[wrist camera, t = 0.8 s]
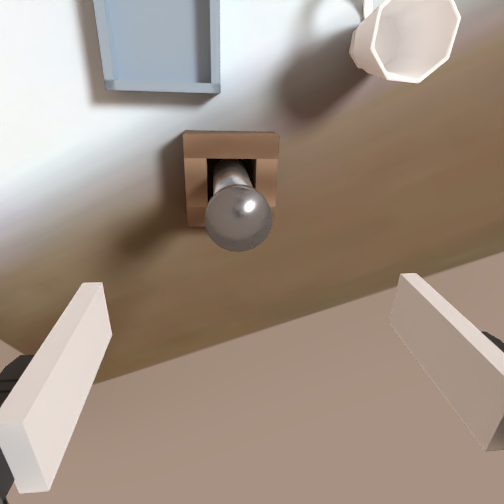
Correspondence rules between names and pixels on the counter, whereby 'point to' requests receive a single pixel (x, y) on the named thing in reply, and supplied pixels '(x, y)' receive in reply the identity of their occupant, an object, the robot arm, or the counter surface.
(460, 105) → the counter surface
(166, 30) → the tray
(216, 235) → the pin
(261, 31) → the counter surface
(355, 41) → the cup
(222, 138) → the socket block
